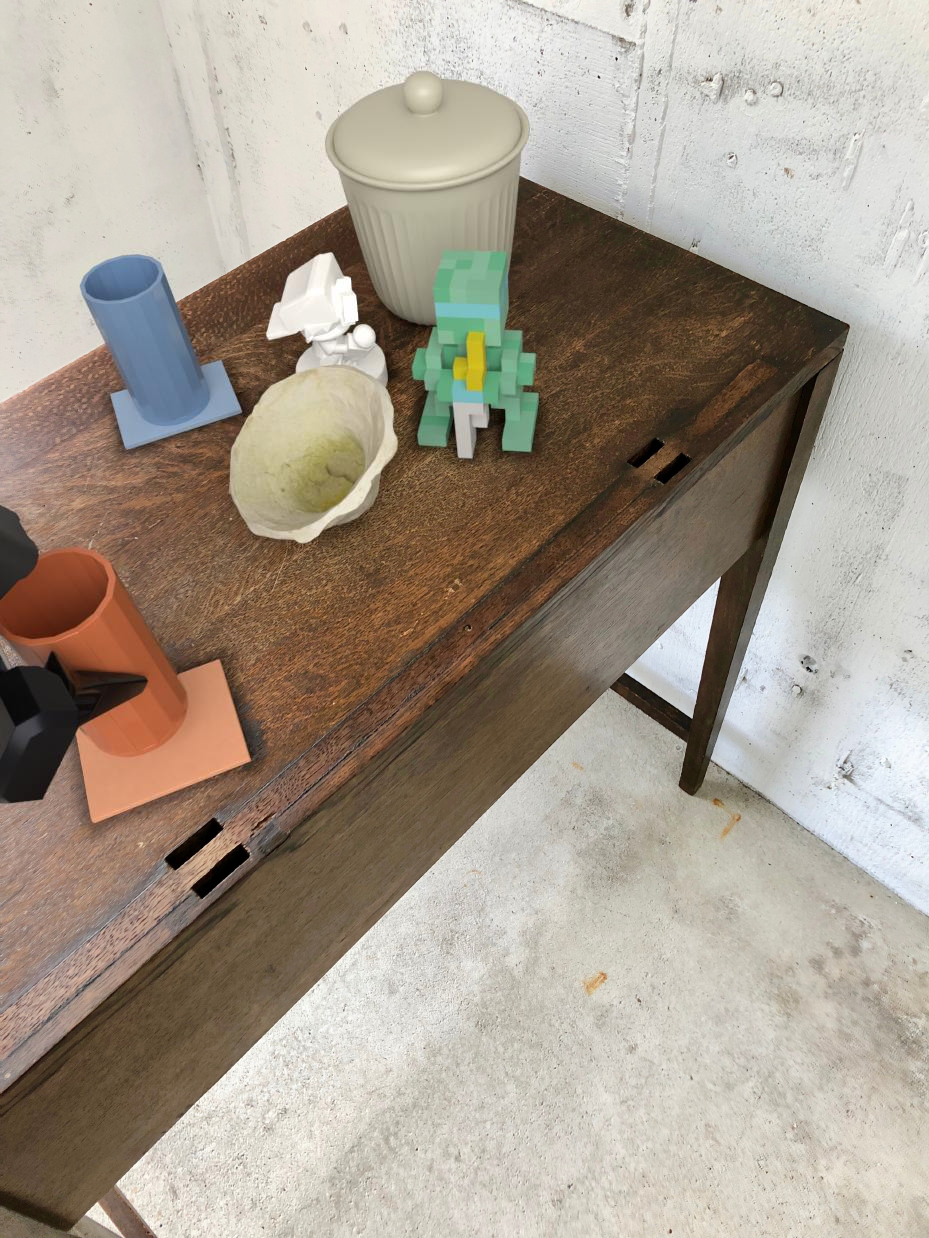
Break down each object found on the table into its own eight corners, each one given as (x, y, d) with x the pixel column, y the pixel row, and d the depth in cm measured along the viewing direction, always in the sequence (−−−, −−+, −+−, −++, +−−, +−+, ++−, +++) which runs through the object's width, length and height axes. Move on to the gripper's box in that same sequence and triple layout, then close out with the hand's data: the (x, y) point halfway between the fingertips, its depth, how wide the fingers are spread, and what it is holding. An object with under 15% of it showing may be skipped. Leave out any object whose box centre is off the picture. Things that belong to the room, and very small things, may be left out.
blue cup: (145, 434, 80) (86, 312, 70) (132, 391, 84) (74, 268, 73) (217, 411, 81) (170, 288, 71) (201, 369, 85) (154, 246, 75)
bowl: (212, 498, 76) (173, 408, 67) (347, 424, 80) (326, 331, 72) (301, 604, 68) (269, 518, 60) (445, 516, 73) (433, 425, 64)
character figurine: (383, 412, 81) (362, 298, 71) (282, 414, 81) (247, 301, 72) (391, 351, 86) (373, 236, 76) (296, 353, 86) (266, 240, 77)
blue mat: (126, 450, 80) (124, 446, 79) (112, 398, 84) (109, 394, 84) (242, 412, 82) (241, 408, 81) (222, 363, 86) (220, 359, 86)
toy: (416, 454, 77) (394, 307, 65) (435, 380, 83) (418, 231, 70) (529, 462, 76) (528, 312, 63) (541, 385, 81) (542, 234, 69)
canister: (320, 319, 89) (270, 100, 72) (417, 229, 98) (393, 14, 81) (471, 372, 83) (455, 146, 66) (561, 271, 91) (568, 48, 74)
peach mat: (94, 823, 59) (91, 820, 58) (75, 716, 64) (72, 713, 63) (251, 761, 61) (249, 758, 60) (221, 662, 66) (219, 658, 65)
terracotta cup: (79, 763, 57) (-24, 651, 46) (96, 675, 61) (4, 554, 50) (184, 751, 57) (104, 636, 46) (193, 664, 61) (122, 540, 50)
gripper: (-72, 633, 34) (249, 643, 46) (-184, 393, 43) (109, 454, 56) (-151, 831, 38) (165, 791, 50) (-237, 571, 47) (47, 592, 60)
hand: (120, 646), depth 54 cm, fingers closed on terracotta cup, 7 cm apart
